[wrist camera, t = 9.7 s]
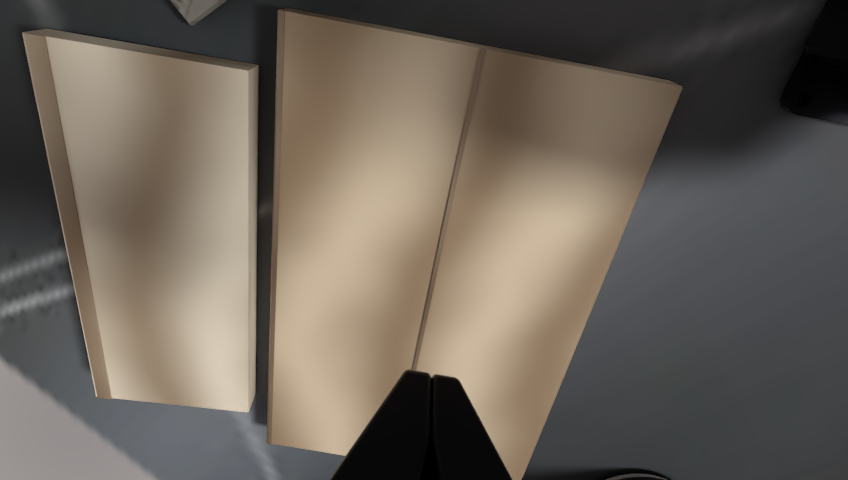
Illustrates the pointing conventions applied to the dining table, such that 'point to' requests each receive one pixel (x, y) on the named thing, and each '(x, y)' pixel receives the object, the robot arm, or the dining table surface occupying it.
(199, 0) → the packaged product
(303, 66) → the laid floor
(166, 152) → the plank
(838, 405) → the dining table surface
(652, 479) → the beverage can
